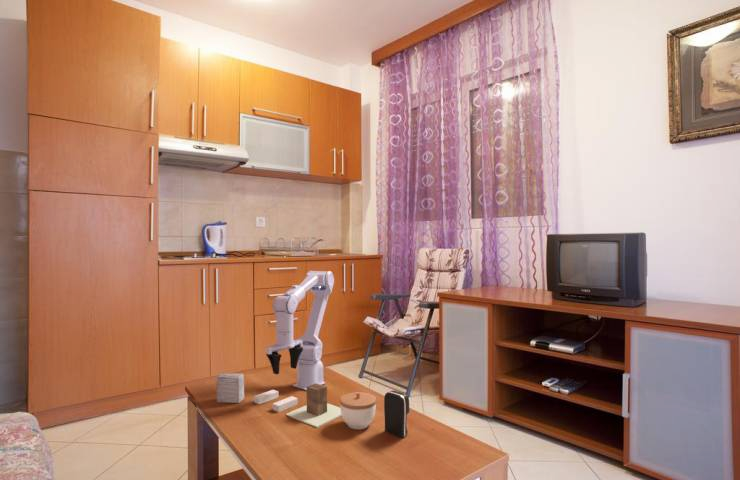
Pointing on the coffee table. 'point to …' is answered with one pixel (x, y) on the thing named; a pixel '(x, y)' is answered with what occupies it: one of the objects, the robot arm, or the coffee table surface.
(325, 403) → the walnut block
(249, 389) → the coffee table surface
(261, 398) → the slot blocks
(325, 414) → the mat
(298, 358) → the robot arm
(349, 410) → the lidded jar
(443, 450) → the coffee table surface
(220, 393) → the medicine box
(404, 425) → the battery charger
